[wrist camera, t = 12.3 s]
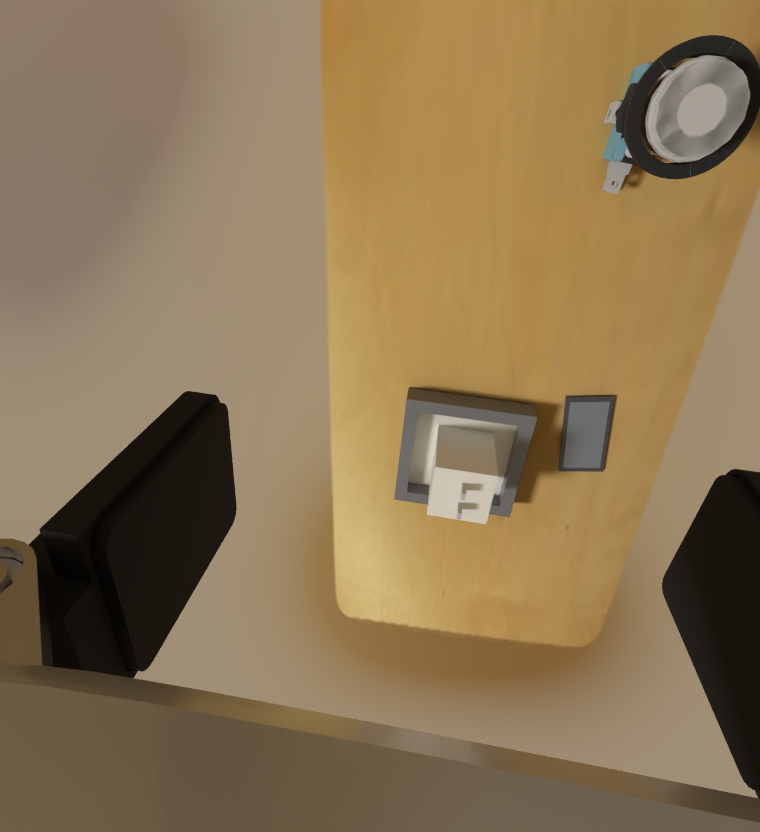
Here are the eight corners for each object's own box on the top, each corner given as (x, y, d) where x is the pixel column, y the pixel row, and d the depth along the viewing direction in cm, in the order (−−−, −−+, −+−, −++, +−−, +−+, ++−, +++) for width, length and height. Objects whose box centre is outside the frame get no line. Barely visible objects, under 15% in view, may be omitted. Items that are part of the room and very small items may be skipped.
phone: (564, 392, 39) (566, 397, 38) (611, 391, 39) (614, 396, 38) (557, 465, 43) (559, 471, 42) (600, 465, 42) (603, 471, 41)
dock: (409, 387, 40) (406, 399, 38) (534, 404, 39) (537, 417, 38) (396, 485, 45) (394, 499, 43) (507, 502, 44) (509, 517, 43)
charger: (438, 424, 41) (434, 476, 35) (493, 432, 40) (499, 486, 34) (430, 469, 43) (425, 526, 37) (483, 477, 43) (486, 535, 37)
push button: (645, 198, 31) (715, 223, 23) (562, 181, 32) (600, 199, 23) (699, 72, 28) (804, 45, 19) (605, 53, 28) (668, 18, 20)
